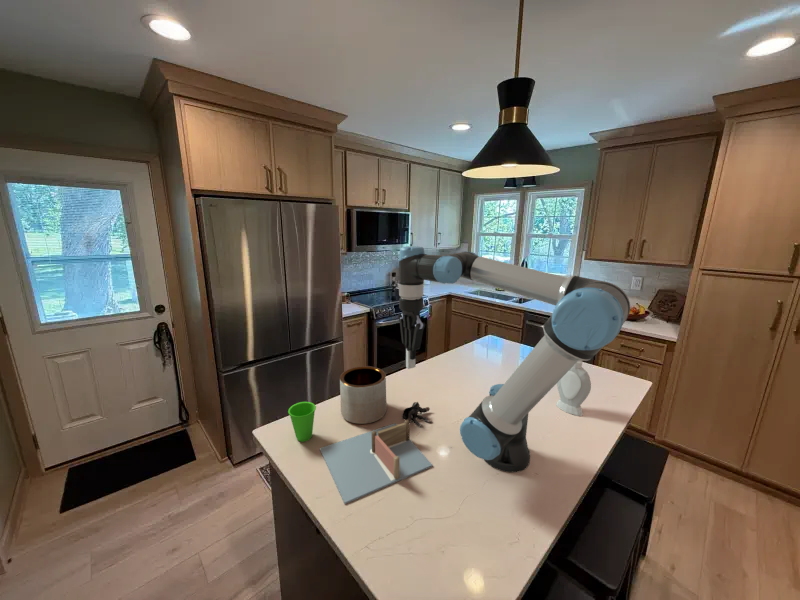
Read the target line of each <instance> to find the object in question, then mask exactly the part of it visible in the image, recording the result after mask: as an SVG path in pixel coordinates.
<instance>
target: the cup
mask: <svg viewBox="0 0 800 600" xmlns="http://www.w3.org/2000/svg"><path fill="white" fill-rule="evenodd" d="M316 409H317V406H316V404H314V403H313V402H311V401H310V402H309V401H300V402H297V403H295V404H293V405H291V406H290V407H289V408H288V411H287V413H288V415H289V417H290V419H291V423H292V427H293V431H294V433H295V434H294V435H295V438H296V440H297V441H298V442H303V443H304V442H307V441H309V440H311V438H312V436H313V430H314V422H315V421H314V419H315V411H316Z"/></svg>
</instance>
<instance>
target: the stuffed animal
mask: <svg viewBox="0 0 800 600" xmlns="http://www.w3.org/2000/svg"><path fill="white" fill-rule="evenodd" d="M430 410H431V409H430V407H429V406H427V407H421V406H420V404H419V401H414V402H413V403H412V404H411V406H410V407H405V409H403V412H402V414H401V417H402V420H404V421H405V420H409V421H410V423H411V422H413V424H415V425H416V426H417V427H419V428H422V427H424V424H423V423H422V424H421V423H420V422H419V421H418V420H421V421H424V422H425V423H427V424H430V423H433V420H429V419H428V418H427V417H425V416H423V414H424V413H427V412H429V411H430Z"/></svg>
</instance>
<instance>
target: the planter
mask: <svg viewBox="0 0 800 600" xmlns="http://www.w3.org/2000/svg"><path fill="white" fill-rule="evenodd" d="M386 376H387V375H386V372H385V371H384V370H383V369H381V368H378V367H375V366H370V365H366V366H365V365H364V366H363V365H362V366H356V367H351V368H348V369H346V370H345V371H343V372H342V373H341V374H340V375H339V390H340V391H339V393H340V398H339V399H340V415H341V417H343V418H344V420H345V421H347V422H348V423H349V422H350V423H352V424H355V425H367V424H372V423H374V422H377V421H379V420H380V419H381V418H383V417H384V416H385V415H386V412H387V405H388V404H387V377H386Z"/></svg>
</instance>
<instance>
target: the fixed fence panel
mask: <svg viewBox="0 0 800 600" xmlns="http://www.w3.org/2000/svg"><path fill="white" fill-rule="evenodd" d="M410 428H411V426H410V421H409V420H404V422H402V423H399V424H397V425H396V426H393V427H390V428H387V429H384V430H381V431H378V436H379V437H380V439H381V440H382V441H383V442H384V443H385V444H386V445H387V446H390V445H393V444H396V443H399V442H401V441H404V440H406V441H409V439H410V430H411V429H410ZM371 431H372V452H373V453H375V436H377V432H376V431H373V430H371Z"/></svg>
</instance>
